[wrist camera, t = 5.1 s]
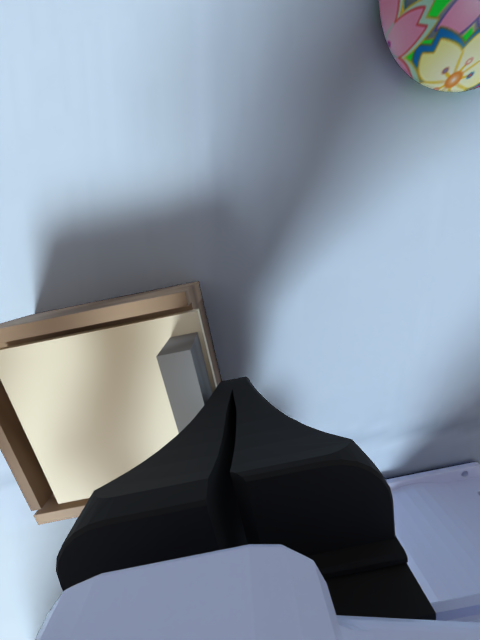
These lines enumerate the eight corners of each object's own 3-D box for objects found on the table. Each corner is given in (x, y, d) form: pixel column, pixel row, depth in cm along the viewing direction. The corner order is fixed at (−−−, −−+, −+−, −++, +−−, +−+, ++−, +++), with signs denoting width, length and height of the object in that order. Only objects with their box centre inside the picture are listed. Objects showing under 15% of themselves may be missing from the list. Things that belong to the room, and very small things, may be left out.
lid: (198, 308, 11) (189, 323, 9) (234, 461, 13) (236, 511, 11) (-2, 348, 11) (-72, 375, 9) (64, 495, 13) (23, 553, 11)
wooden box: (198, 281, 15) (184, 291, 10) (231, 424, 18) (233, 486, 13) (34, 313, 15) (-55, 339, 10) (89, 452, 18) (38, 524, 13)
